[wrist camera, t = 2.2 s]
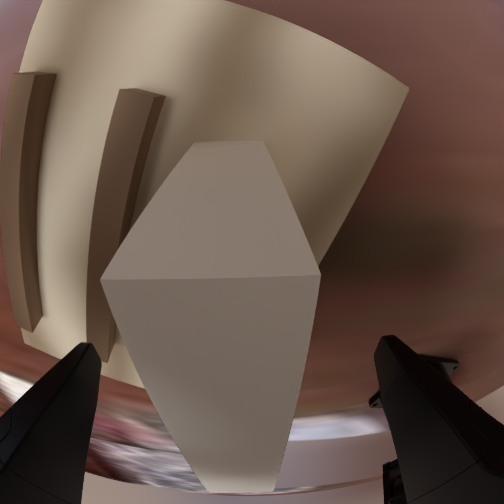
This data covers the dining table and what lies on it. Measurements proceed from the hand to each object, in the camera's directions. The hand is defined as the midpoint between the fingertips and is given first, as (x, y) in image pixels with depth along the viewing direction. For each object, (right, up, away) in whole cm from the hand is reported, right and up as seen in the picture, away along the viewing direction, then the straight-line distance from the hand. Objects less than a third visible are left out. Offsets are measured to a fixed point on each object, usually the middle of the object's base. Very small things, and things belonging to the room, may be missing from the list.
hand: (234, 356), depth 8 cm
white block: (0, +3, +4) cm, 5 cm away
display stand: (-4, +3, +5) cm, 7 cm away
